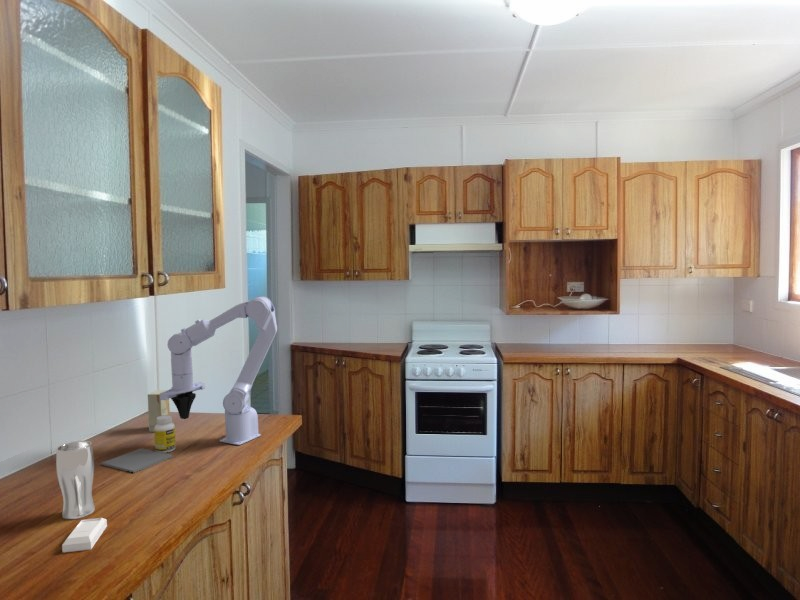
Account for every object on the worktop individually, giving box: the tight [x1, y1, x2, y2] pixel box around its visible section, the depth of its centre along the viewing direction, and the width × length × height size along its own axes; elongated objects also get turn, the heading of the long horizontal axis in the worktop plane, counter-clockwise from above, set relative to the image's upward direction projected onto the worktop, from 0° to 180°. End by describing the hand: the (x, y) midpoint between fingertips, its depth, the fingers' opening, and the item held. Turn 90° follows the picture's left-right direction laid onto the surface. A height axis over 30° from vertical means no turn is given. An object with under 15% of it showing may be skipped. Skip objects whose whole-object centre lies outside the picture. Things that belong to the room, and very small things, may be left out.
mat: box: [101, 447, 173, 474], centre depth 146 cm, size 12×13×1 cm
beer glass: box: [55, 440, 96, 520], centre depth 116 cm, size 7×7×15 cm
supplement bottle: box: [153, 414, 176, 454], centre depth 154 cm, size 5×5×10 cm
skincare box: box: [147, 389, 171, 433], centre depth 173 cm, size 6×4×12 cm
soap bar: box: [61, 517, 108, 553], centre depth 106 cm, size 5×9×3 cm, turn 11°
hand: (184, 418), depth 160 cm, fingers closed
